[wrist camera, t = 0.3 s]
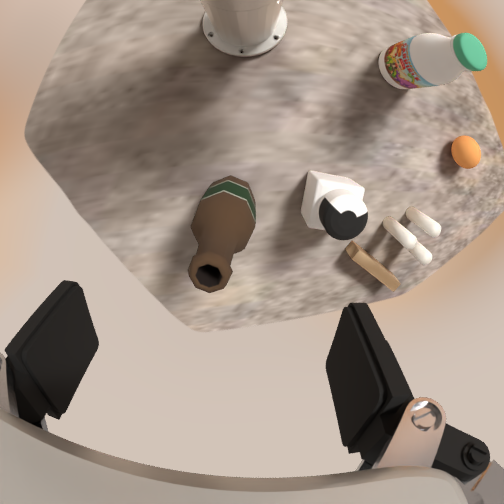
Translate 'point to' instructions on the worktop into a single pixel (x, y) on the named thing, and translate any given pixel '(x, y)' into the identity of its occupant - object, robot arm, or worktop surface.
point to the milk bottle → (431, 60)
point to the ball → (466, 152)
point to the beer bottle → (221, 231)
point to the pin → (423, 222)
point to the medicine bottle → (334, 205)
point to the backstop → (372, 266)
